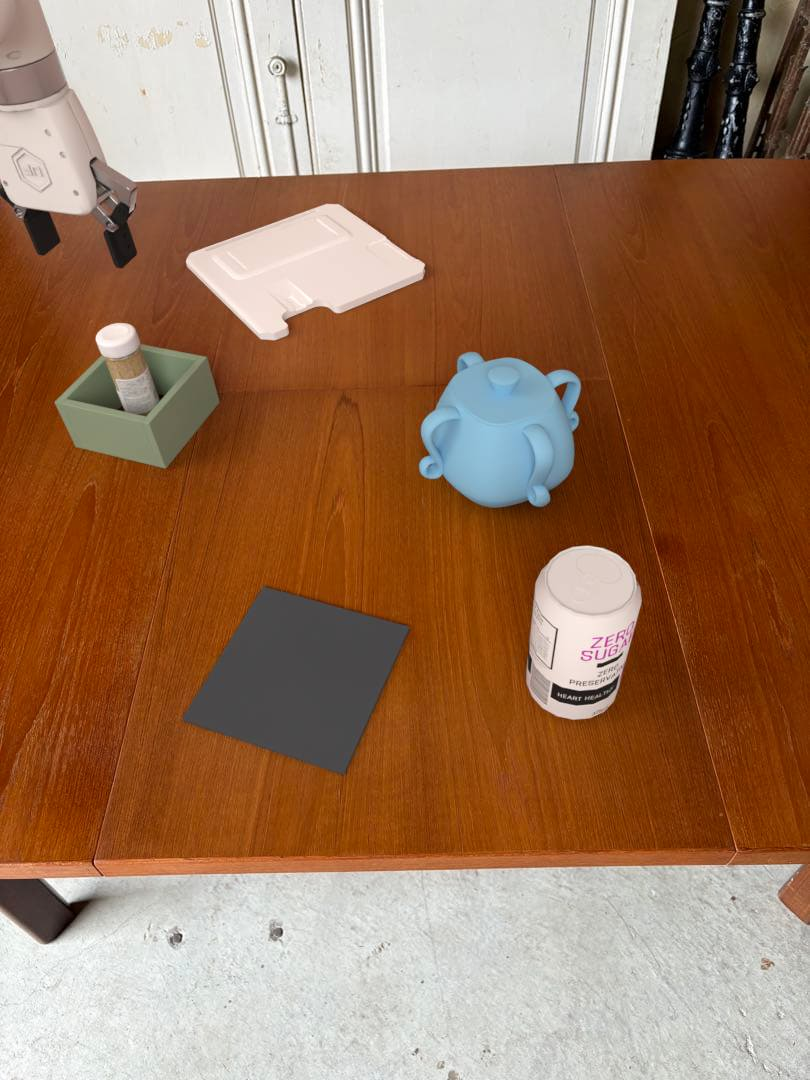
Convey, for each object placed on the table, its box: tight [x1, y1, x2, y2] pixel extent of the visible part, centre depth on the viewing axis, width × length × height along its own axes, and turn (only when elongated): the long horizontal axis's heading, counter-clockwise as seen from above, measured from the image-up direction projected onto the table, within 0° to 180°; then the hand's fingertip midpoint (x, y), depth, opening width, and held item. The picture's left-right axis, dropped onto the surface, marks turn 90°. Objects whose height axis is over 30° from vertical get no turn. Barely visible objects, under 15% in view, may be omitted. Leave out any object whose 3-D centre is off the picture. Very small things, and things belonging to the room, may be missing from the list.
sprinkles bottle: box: [95, 322, 160, 416], centre depth 97 cm, size 5×5×14 cm
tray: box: [185, 203, 426, 341], centre depth 124 cm, size 28×28×2 cm
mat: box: [181, 586, 411, 776], centre depth 76 cm, size 16×16×1 cm
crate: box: [54, 343, 221, 469], centre depth 99 cm, size 13×13×7 cm
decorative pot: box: [418, 351, 582, 509], centre depth 88 cm, size 16×16×14 cm
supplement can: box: [525, 545, 643, 721], centre depth 68 cm, size 8×8×15 cm
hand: (87, 255), depth 85 cm, fingers open, 9 cm apart
